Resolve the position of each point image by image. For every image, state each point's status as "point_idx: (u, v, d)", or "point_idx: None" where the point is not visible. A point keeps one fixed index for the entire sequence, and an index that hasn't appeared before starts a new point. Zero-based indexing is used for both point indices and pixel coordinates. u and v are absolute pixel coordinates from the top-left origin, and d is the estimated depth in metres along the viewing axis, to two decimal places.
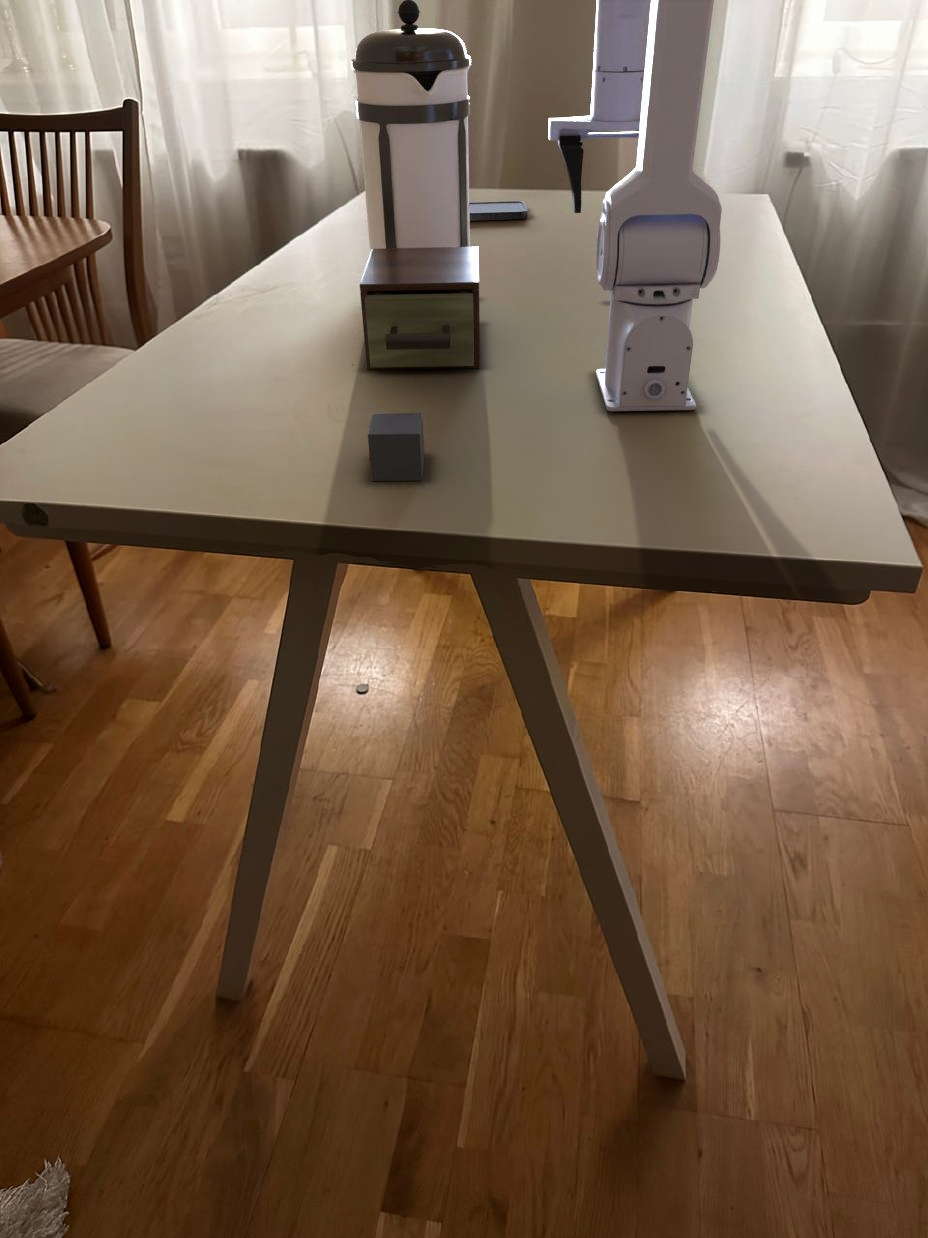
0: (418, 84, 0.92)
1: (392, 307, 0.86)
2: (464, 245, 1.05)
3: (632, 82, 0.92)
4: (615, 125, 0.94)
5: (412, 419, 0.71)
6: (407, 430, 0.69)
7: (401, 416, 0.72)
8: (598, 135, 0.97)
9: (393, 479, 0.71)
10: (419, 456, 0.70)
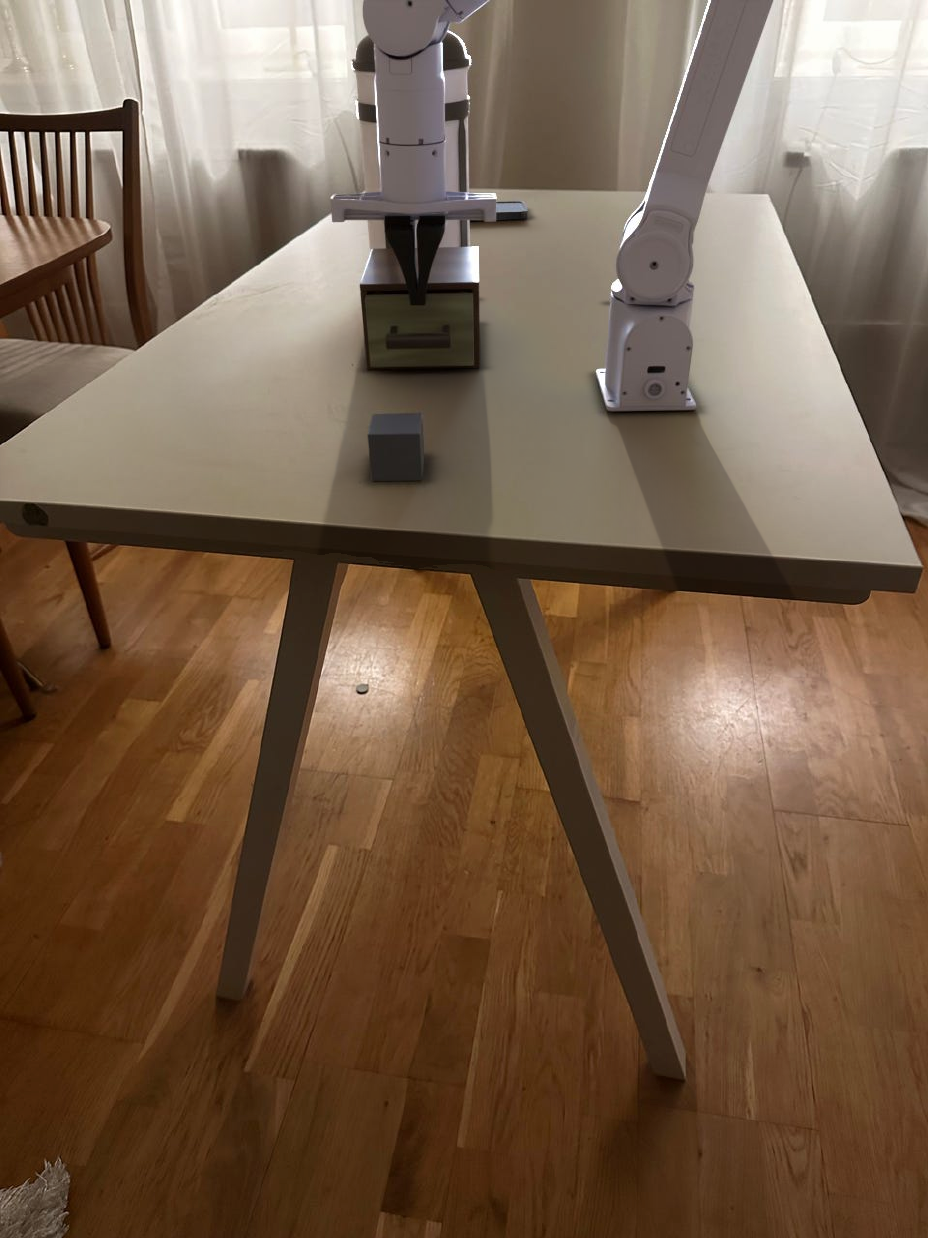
0: None
1: (392, 307, 0.86)
2: (464, 245, 1.05)
3: (421, 158, 0.75)
4: (405, 208, 0.77)
5: (412, 419, 0.71)
6: (407, 430, 0.69)
7: (401, 416, 0.72)
8: (392, 216, 0.80)
9: (393, 479, 0.71)
10: (419, 456, 0.70)
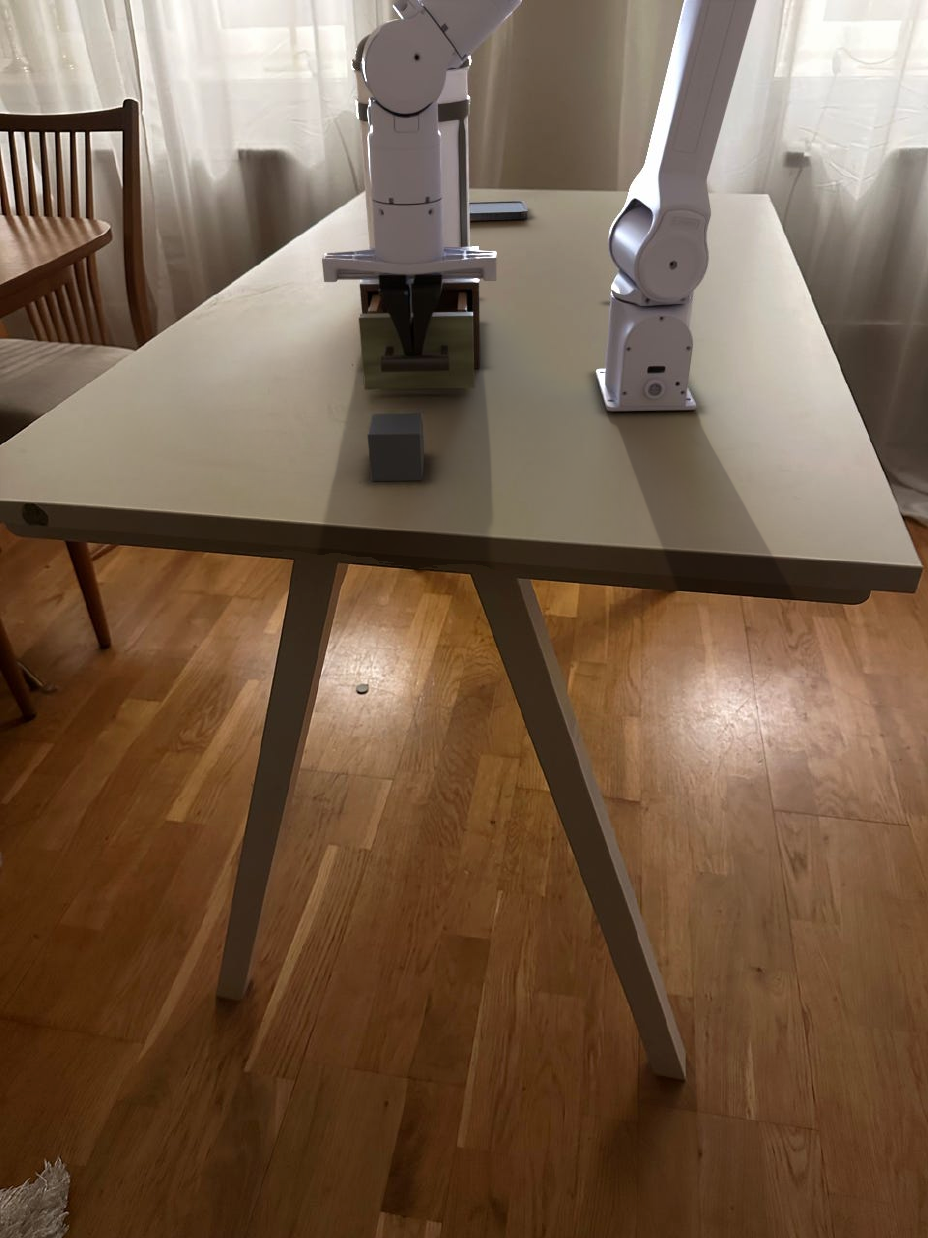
0: None
1: (388, 327, 0.81)
2: (464, 245, 1.05)
3: (417, 218, 0.72)
4: (401, 268, 0.74)
5: (412, 419, 0.71)
6: (407, 430, 0.69)
7: (401, 416, 0.72)
8: (387, 275, 0.76)
9: (393, 479, 0.71)
10: (419, 456, 0.70)
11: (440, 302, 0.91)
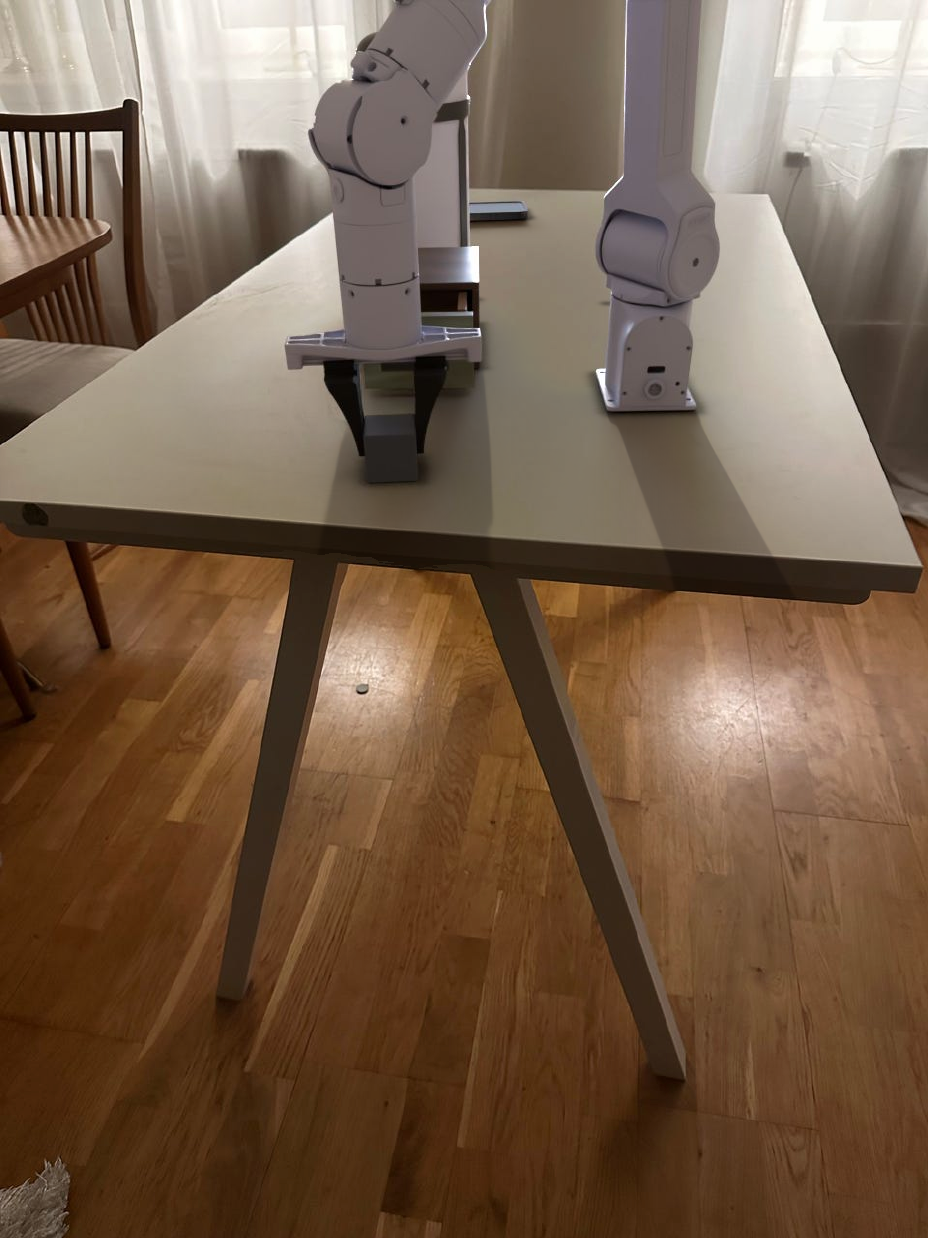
0: None
1: None
2: (464, 245, 1.05)
3: (392, 299, 0.63)
4: (376, 354, 0.65)
5: (406, 419, 0.71)
6: (402, 430, 0.69)
7: (394, 417, 0.71)
8: (359, 359, 0.68)
9: (389, 480, 0.71)
10: (415, 456, 0.70)
11: (441, 302, 0.91)
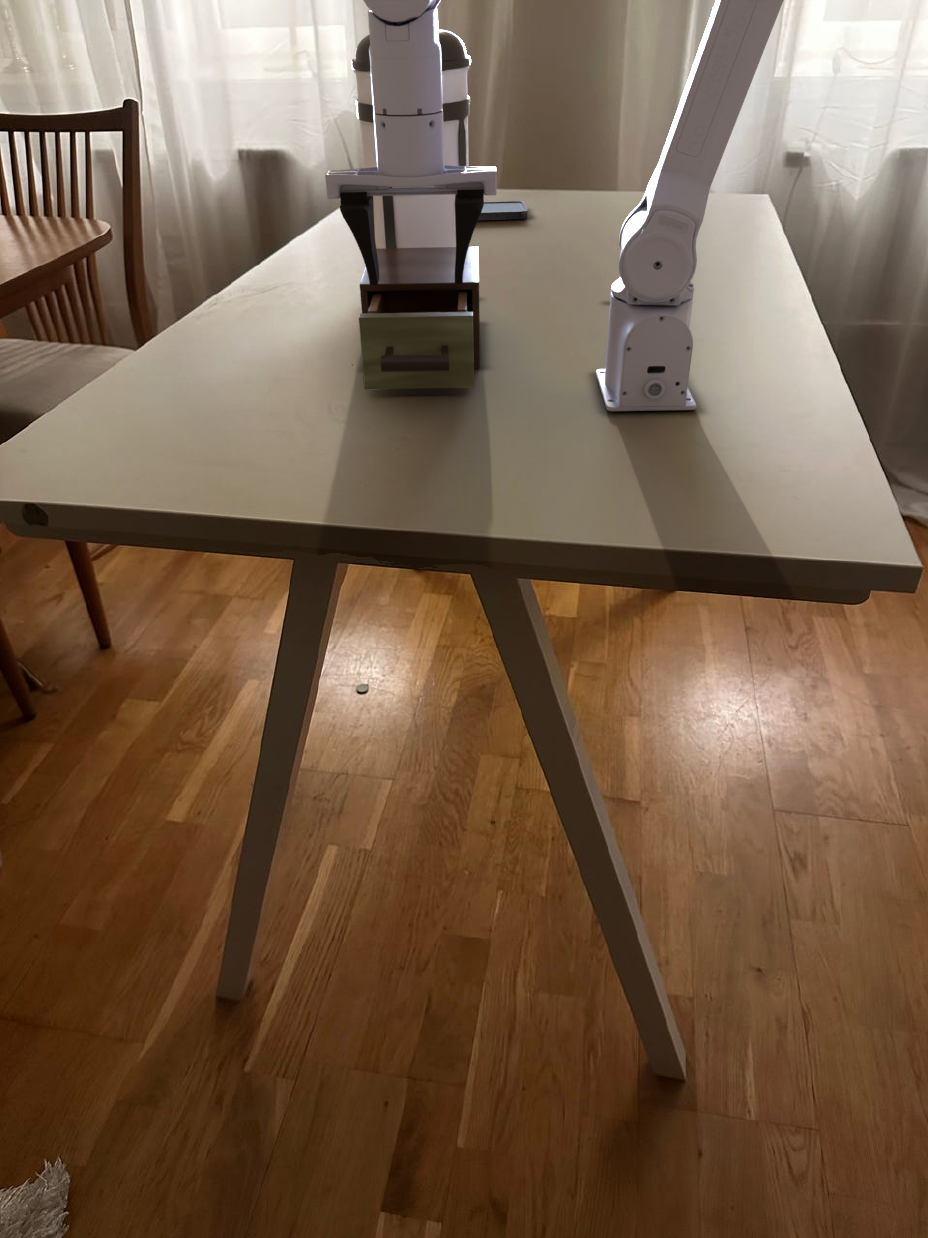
0: None
1: (388, 327, 0.81)
2: None
3: (418, 129, 0.73)
4: (402, 181, 0.75)
5: None
6: None
7: None
8: (389, 191, 0.78)
9: None
10: None
11: (440, 302, 0.91)
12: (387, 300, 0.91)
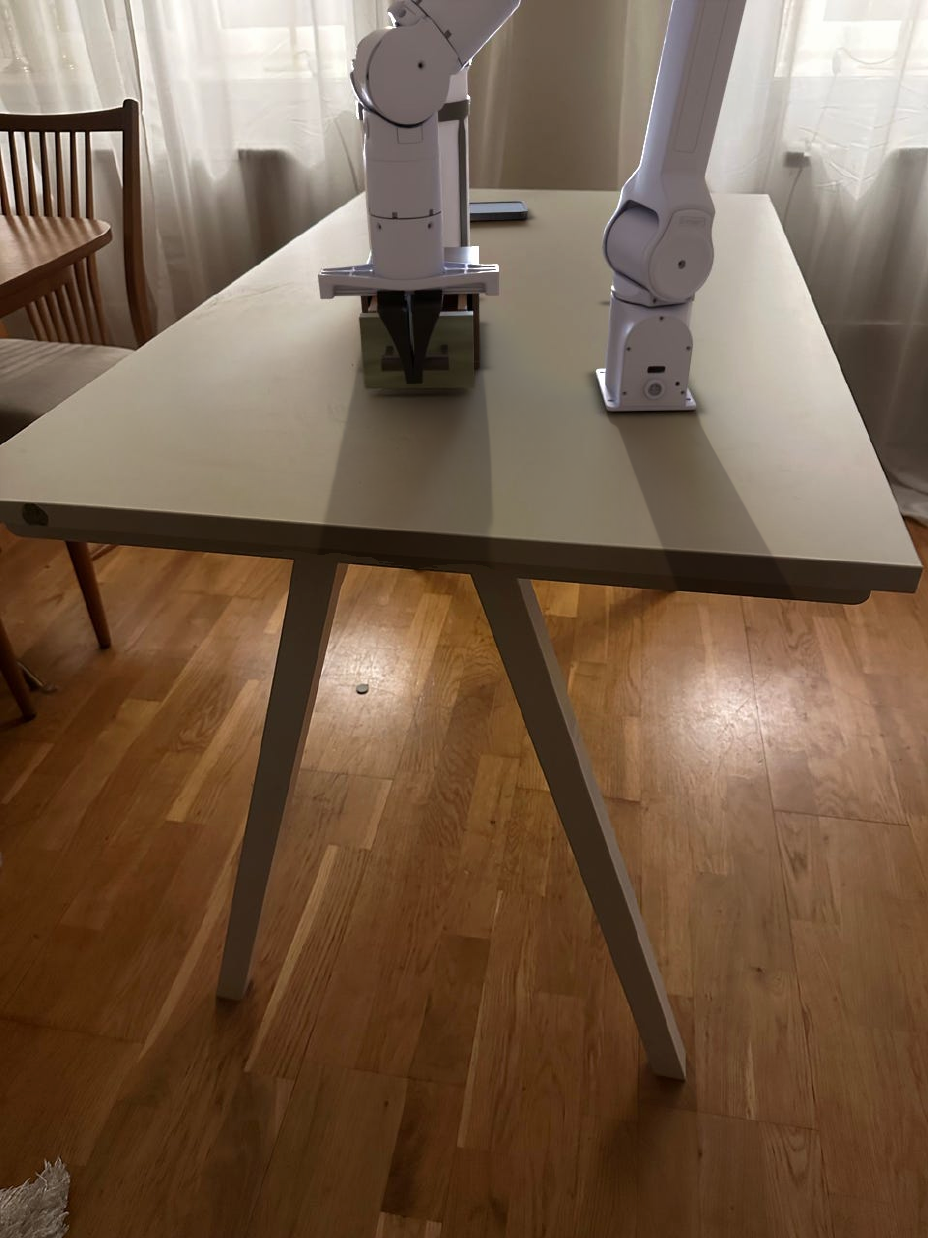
0: None
1: None
2: (464, 245, 1.05)
3: (416, 232, 0.69)
4: (400, 284, 0.71)
5: None
6: None
7: None
8: (386, 291, 0.74)
9: None
10: None
11: None
12: None
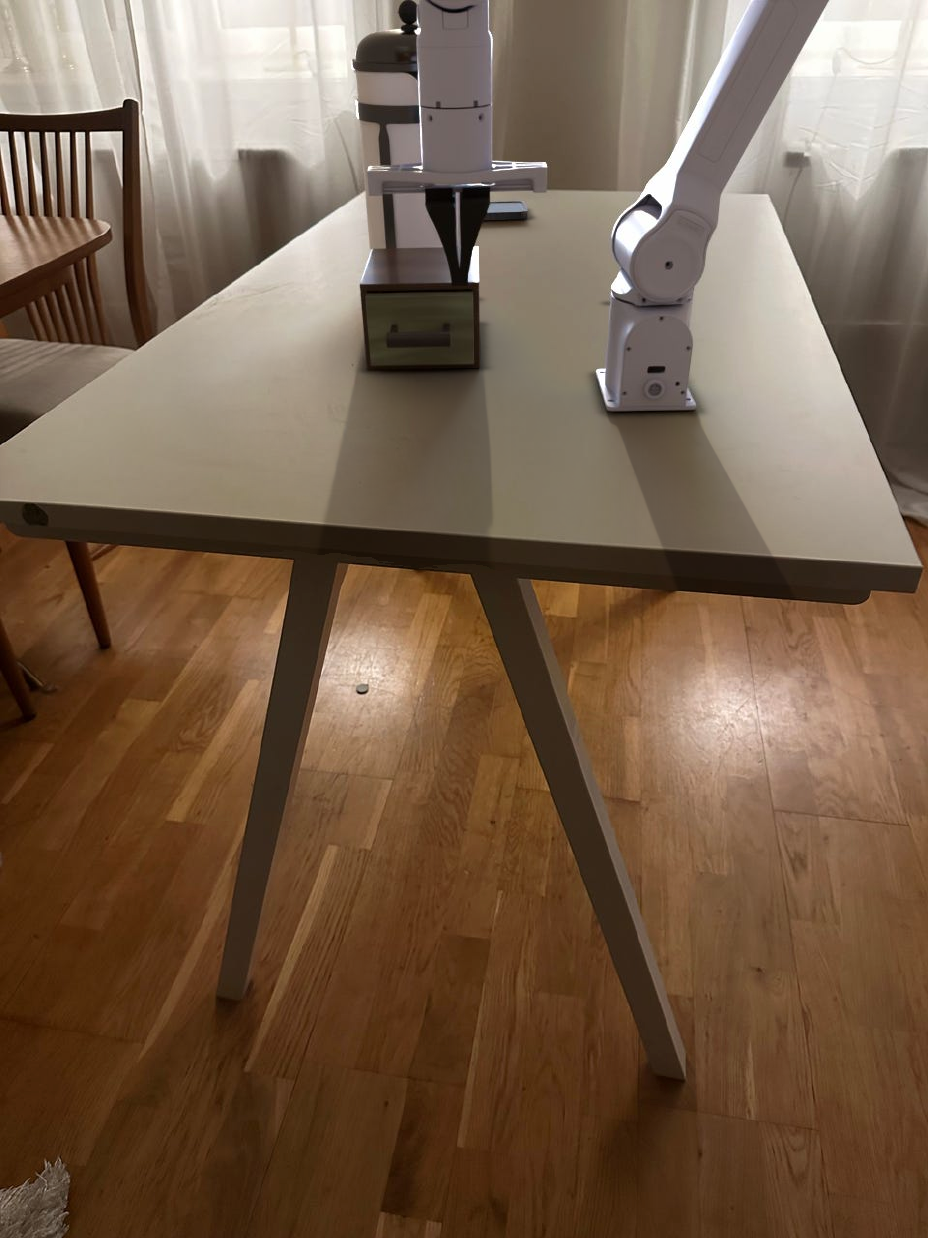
0: None
1: (392, 306, 0.86)
2: None
3: (467, 122, 0.69)
4: (449, 178, 0.71)
5: None
6: None
7: None
8: (433, 189, 0.74)
9: None
10: None
11: None
12: None
